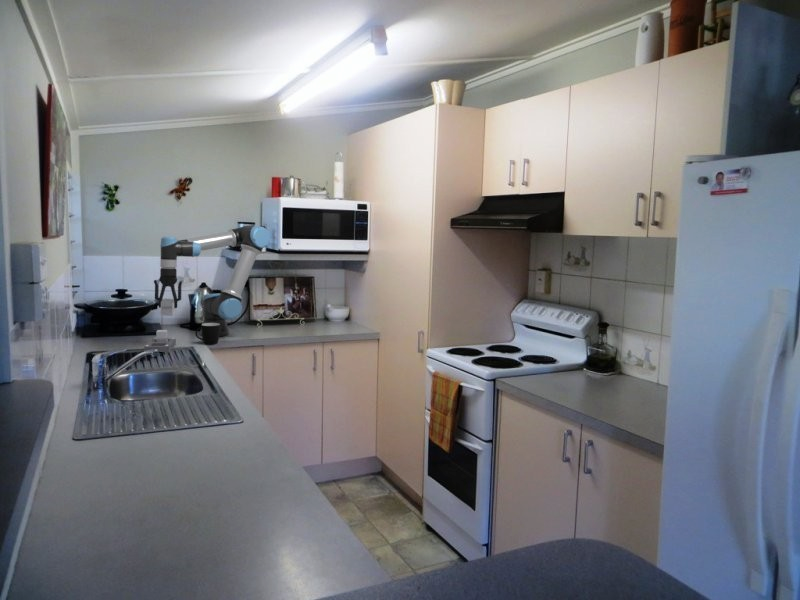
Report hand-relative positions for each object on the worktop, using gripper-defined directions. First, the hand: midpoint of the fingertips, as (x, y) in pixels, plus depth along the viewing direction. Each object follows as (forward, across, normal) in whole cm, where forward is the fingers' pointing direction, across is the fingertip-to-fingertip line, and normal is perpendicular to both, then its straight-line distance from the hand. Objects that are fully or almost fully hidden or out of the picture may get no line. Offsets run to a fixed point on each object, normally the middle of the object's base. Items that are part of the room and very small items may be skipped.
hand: (167, 314), depth 297 cm
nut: (0, 0, 0) cm, 0 cm away
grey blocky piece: (+16, +1, +9) cm, 18 cm away
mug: (+15, -19, -3) cm, 25 cm away
